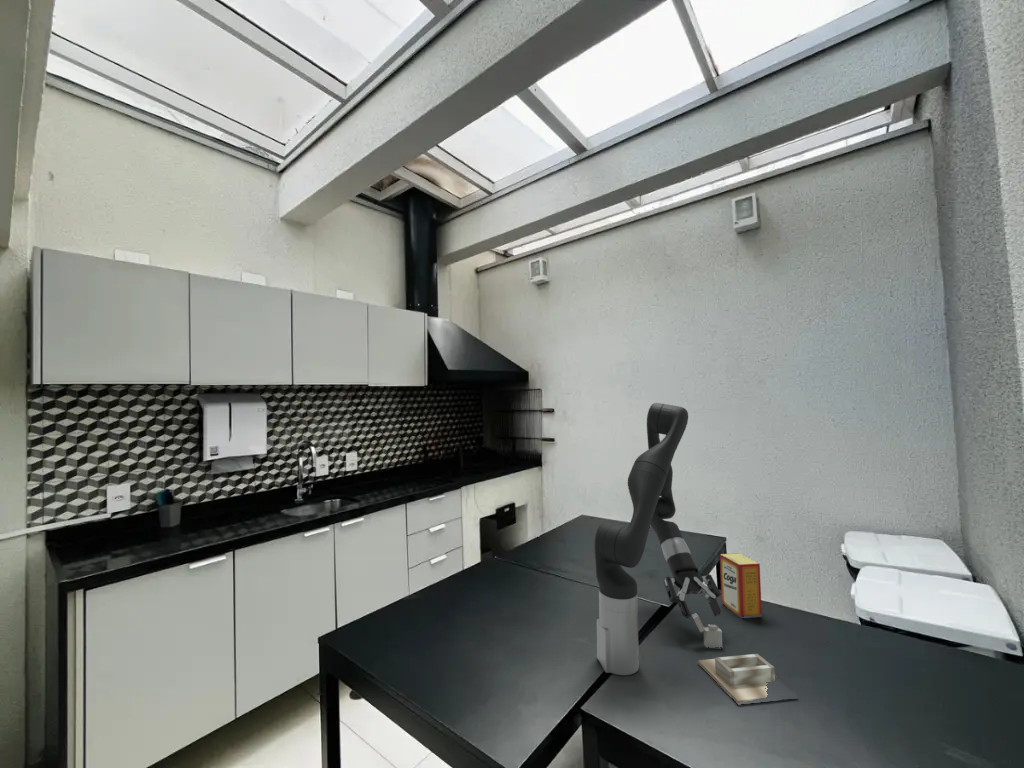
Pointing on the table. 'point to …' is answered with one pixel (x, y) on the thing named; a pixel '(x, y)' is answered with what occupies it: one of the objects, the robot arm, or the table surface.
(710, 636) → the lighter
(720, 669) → the holder
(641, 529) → the robot arm
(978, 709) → the table surface
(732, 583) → the baking soda box
